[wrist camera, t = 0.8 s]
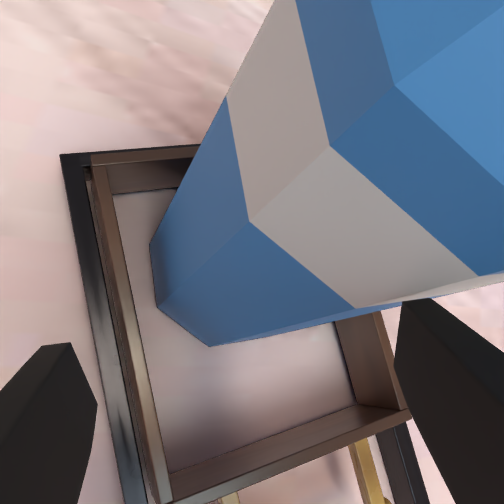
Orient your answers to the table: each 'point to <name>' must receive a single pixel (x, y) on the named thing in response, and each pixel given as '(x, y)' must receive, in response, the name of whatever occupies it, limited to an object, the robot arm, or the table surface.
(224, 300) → the water bottle
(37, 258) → the table surface
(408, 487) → the rails
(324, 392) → the table surface
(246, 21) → the table surface
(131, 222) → the table surface
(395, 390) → the drawer
